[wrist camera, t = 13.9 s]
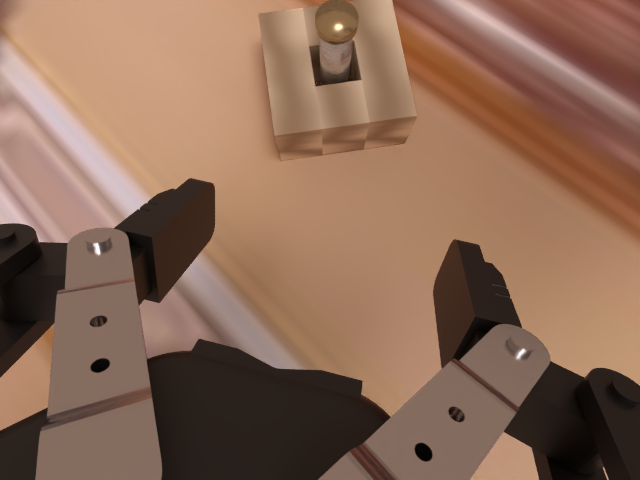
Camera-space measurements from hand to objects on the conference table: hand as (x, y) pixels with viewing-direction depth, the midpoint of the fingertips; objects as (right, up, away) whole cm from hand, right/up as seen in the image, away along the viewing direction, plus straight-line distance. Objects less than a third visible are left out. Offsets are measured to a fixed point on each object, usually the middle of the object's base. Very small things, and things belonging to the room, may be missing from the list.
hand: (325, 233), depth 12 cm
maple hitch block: (+1, +14, +25) cm, 28 cm away
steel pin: (+1, +14, +25) cm, 28 cm away
